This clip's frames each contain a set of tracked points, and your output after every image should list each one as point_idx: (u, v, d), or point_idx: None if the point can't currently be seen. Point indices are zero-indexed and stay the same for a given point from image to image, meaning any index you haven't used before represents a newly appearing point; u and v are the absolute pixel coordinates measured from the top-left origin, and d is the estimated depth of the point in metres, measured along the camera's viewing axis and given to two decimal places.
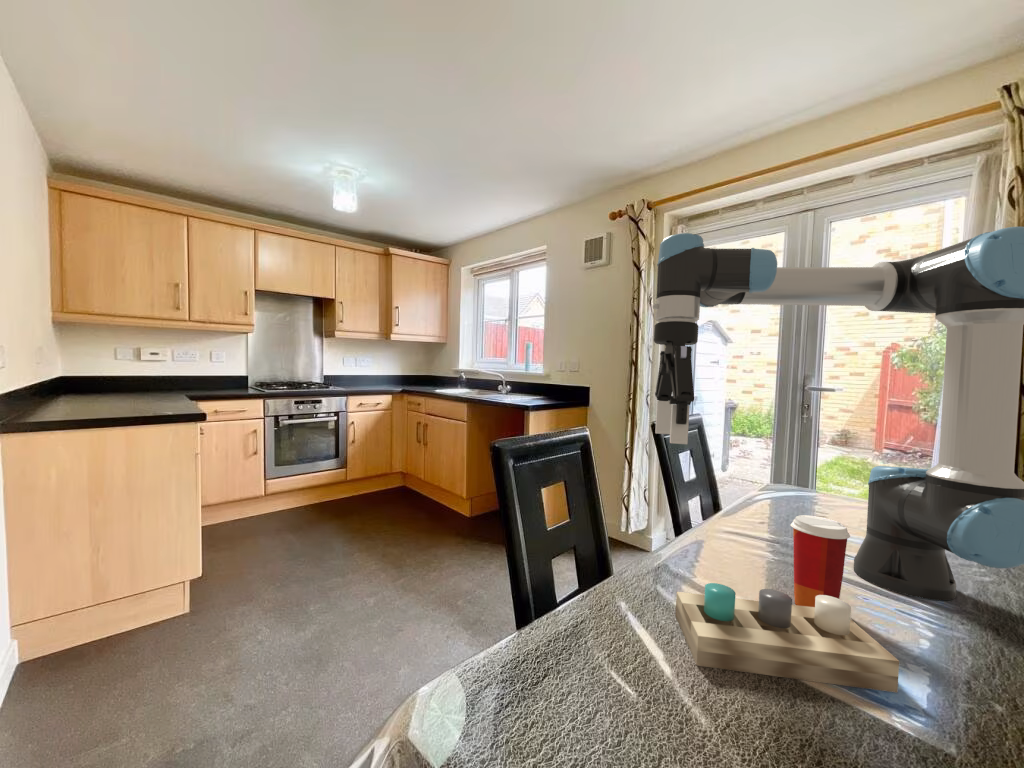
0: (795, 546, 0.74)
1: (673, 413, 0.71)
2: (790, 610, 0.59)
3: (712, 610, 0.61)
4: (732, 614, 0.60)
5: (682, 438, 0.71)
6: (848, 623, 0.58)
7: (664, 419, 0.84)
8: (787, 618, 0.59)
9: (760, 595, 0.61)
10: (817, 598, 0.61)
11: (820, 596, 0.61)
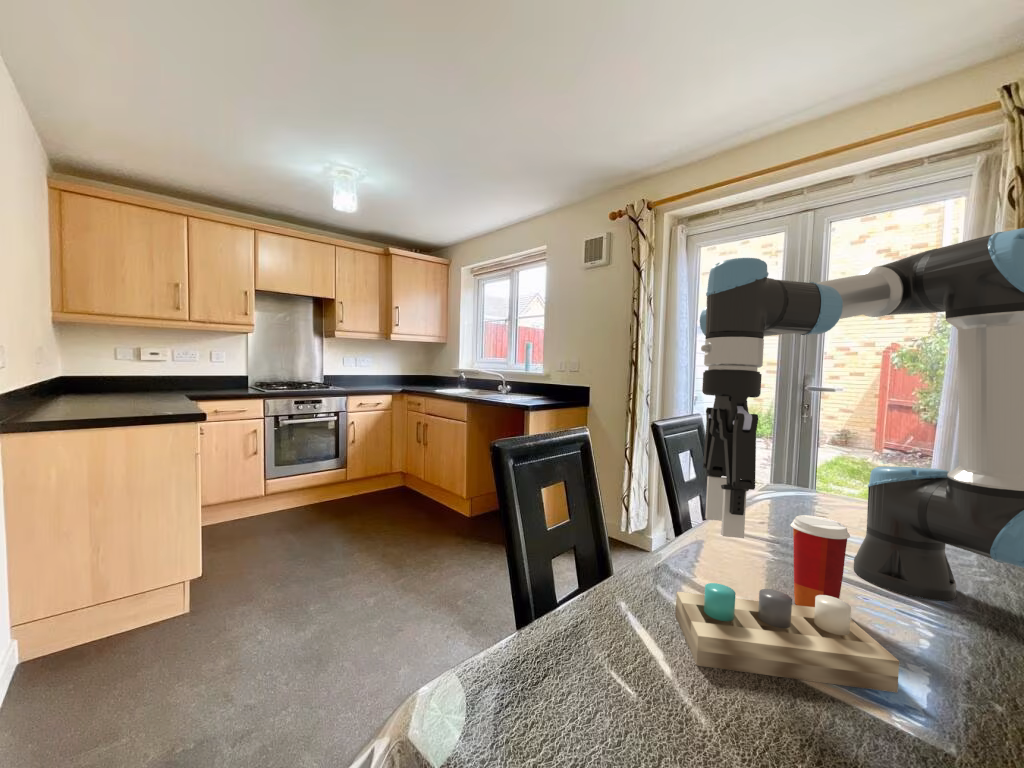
0: (795, 546, 0.74)
1: (726, 500, 0.58)
2: (790, 610, 0.59)
3: (712, 610, 0.61)
4: (732, 614, 0.60)
5: (737, 530, 0.58)
6: (848, 623, 0.58)
7: (718, 501, 0.65)
8: (787, 618, 0.59)
9: (760, 595, 0.61)
10: (817, 598, 0.61)
11: (820, 596, 0.61)
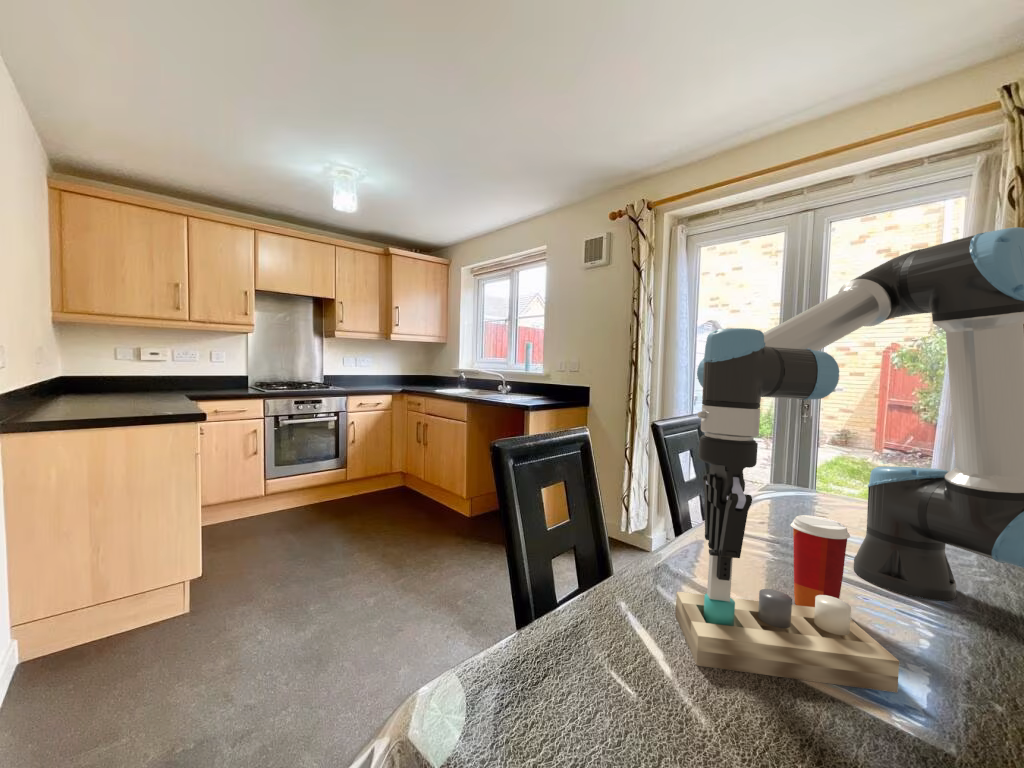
0: (795, 546, 0.74)
1: (713, 564, 0.61)
2: (790, 610, 0.59)
3: (712, 619, 0.61)
4: (731, 624, 0.60)
5: (724, 594, 0.61)
6: (848, 623, 0.58)
7: None
8: (787, 618, 0.59)
9: (760, 595, 0.61)
10: (817, 598, 0.61)
11: (820, 596, 0.61)
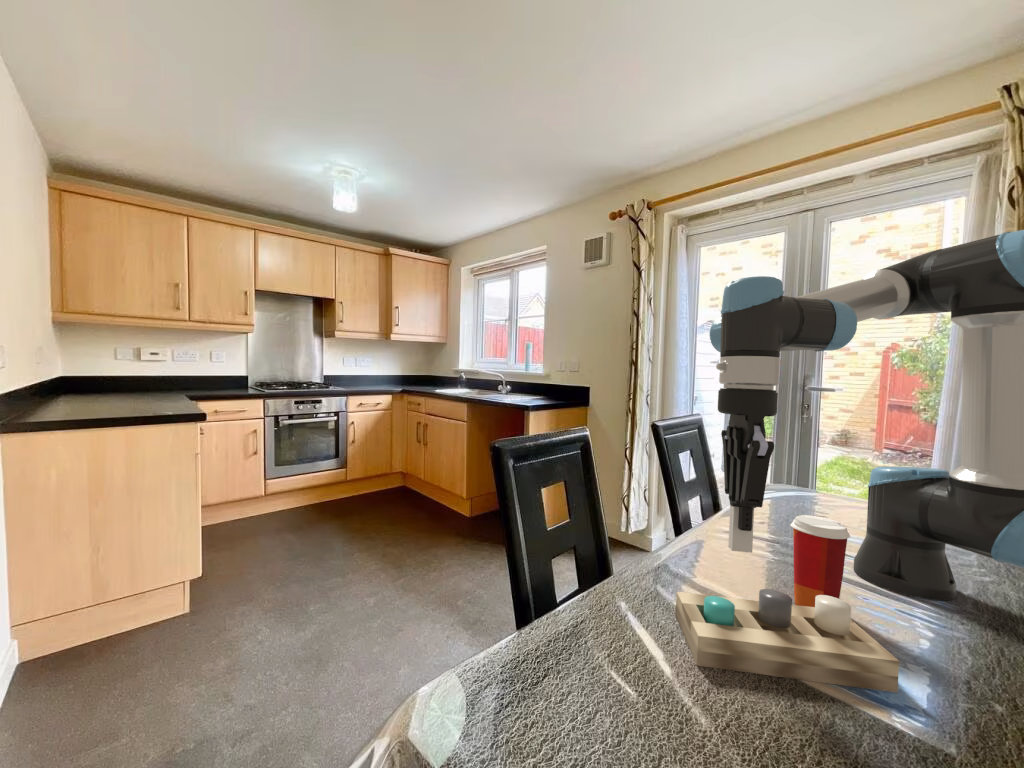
0: (795, 546, 0.74)
1: (735, 516, 0.61)
2: (790, 610, 0.59)
3: (712, 623, 0.61)
4: None
5: (746, 545, 0.61)
6: (848, 623, 0.58)
7: None
8: (787, 618, 0.59)
9: (760, 595, 0.61)
10: (817, 598, 0.61)
11: (820, 596, 0.61)
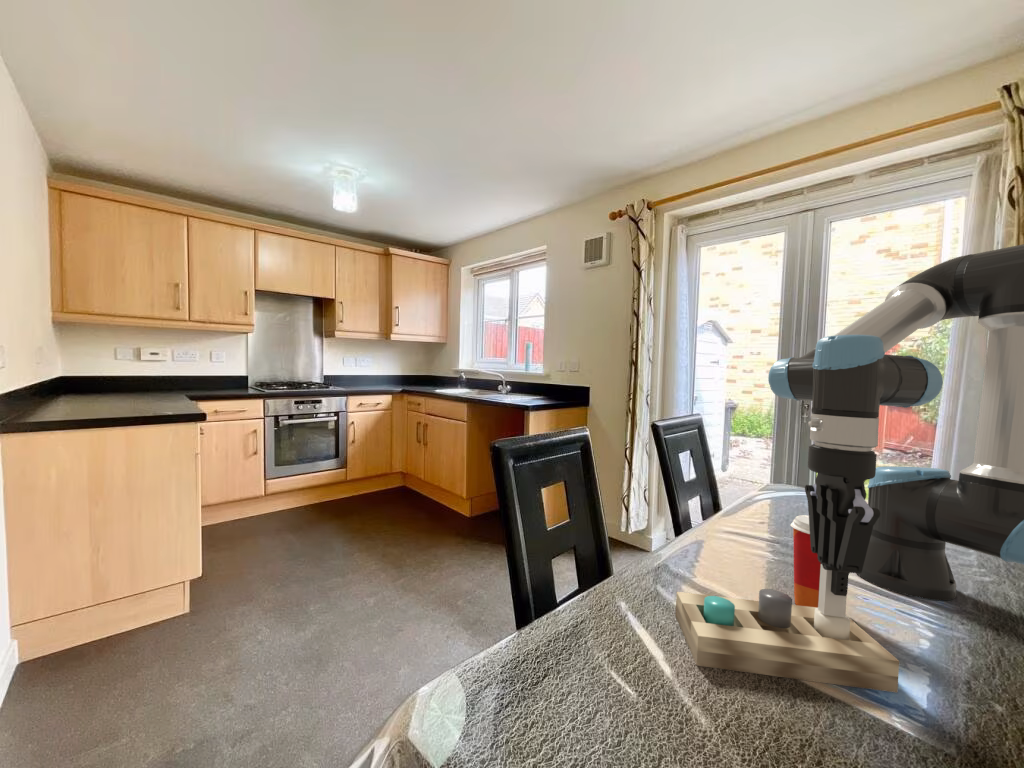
0: (795, 546, 0.74)
1: (827, 579, 0.59)
2: (790, 610, 0.59)
3: (712, 623, 0.61)
4: None
5: (839, 610, 0.59)
6: (847, 636, 0.58)
7: None
8: (787, 618, 0.59)
9: (760, 595, 0.61)
10: (816, 611, 0.61)
11: None
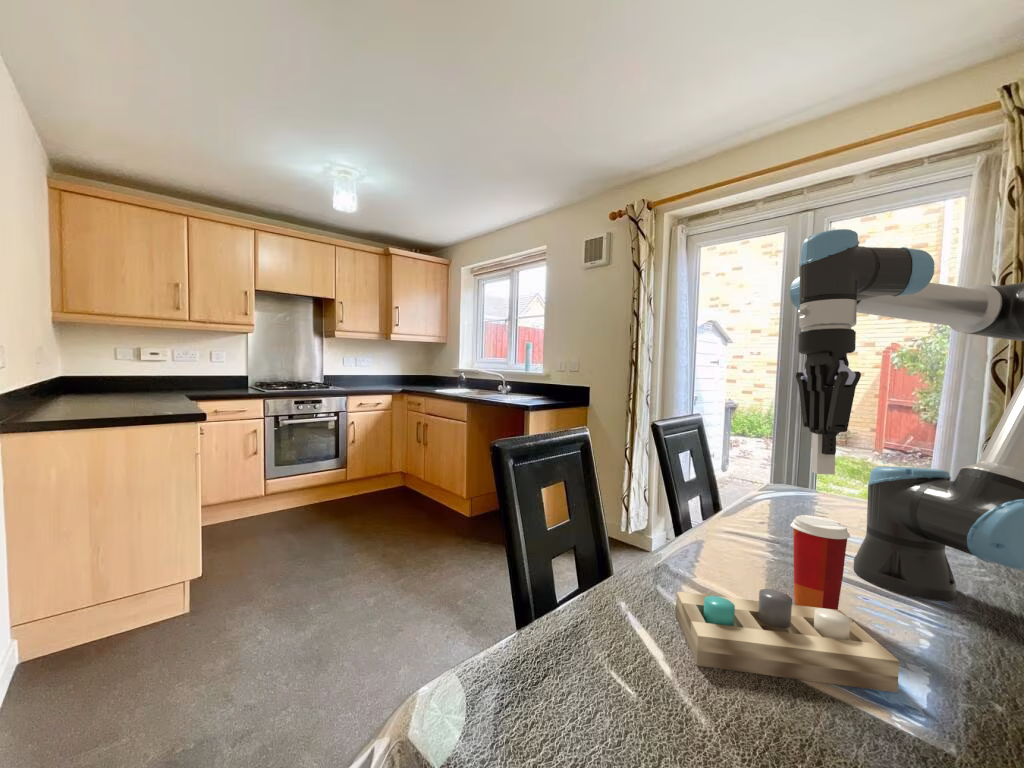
0: (795, 546, 0.74)
1: (819, 443, 0.69)
2: (790, 610, 0.59)
3: (712, 623, 0.61)
4: None
5: (829, 468, 0.69)
6: (847, 637, 0.58)
7: None
8: (787, 618, 0.59)
9: (760, 595, 0.61)
10: (816, 612, 0.61)
11: (819, 609, 0.61)
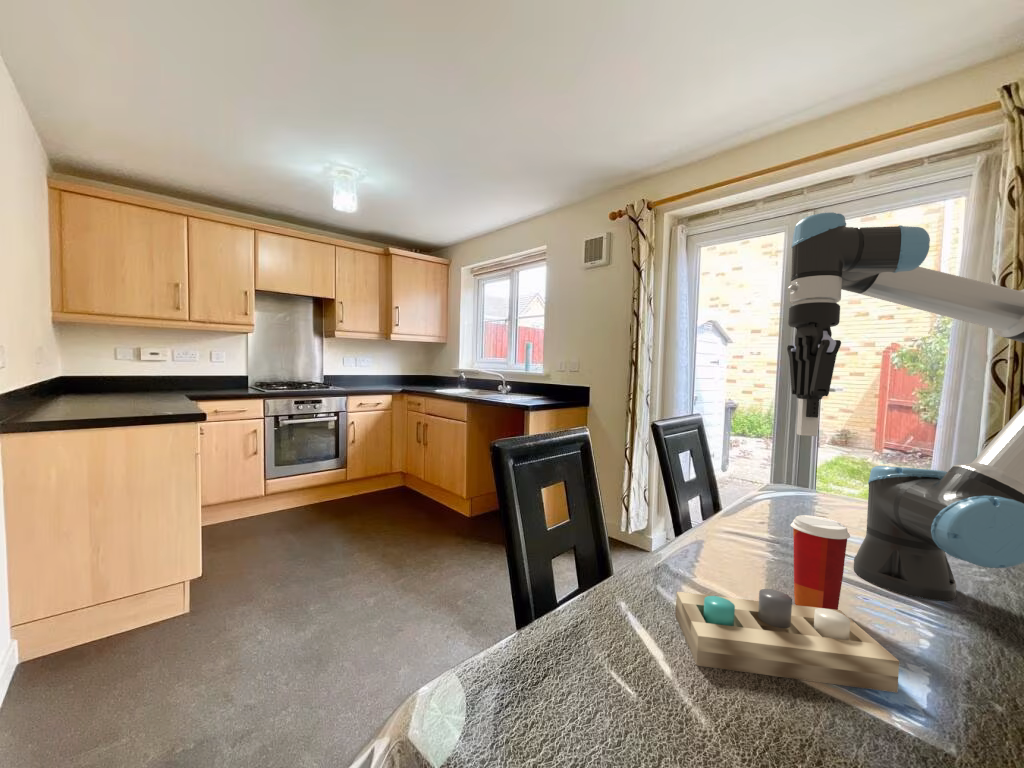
0: (795, 546, 0.74)
1: (803, 407, 0.76)
2: (790, 610, 0.59)
3: (712, 623, 0.61)
4: None
5: (812, 430, 0.76)
6: (847, 637, 0.58)
7: None
8: (787, 618, 0.59)
9: (760, 595, 0.61)
10: (816, 612, 0.61)
11: (819, 609, 0.61)
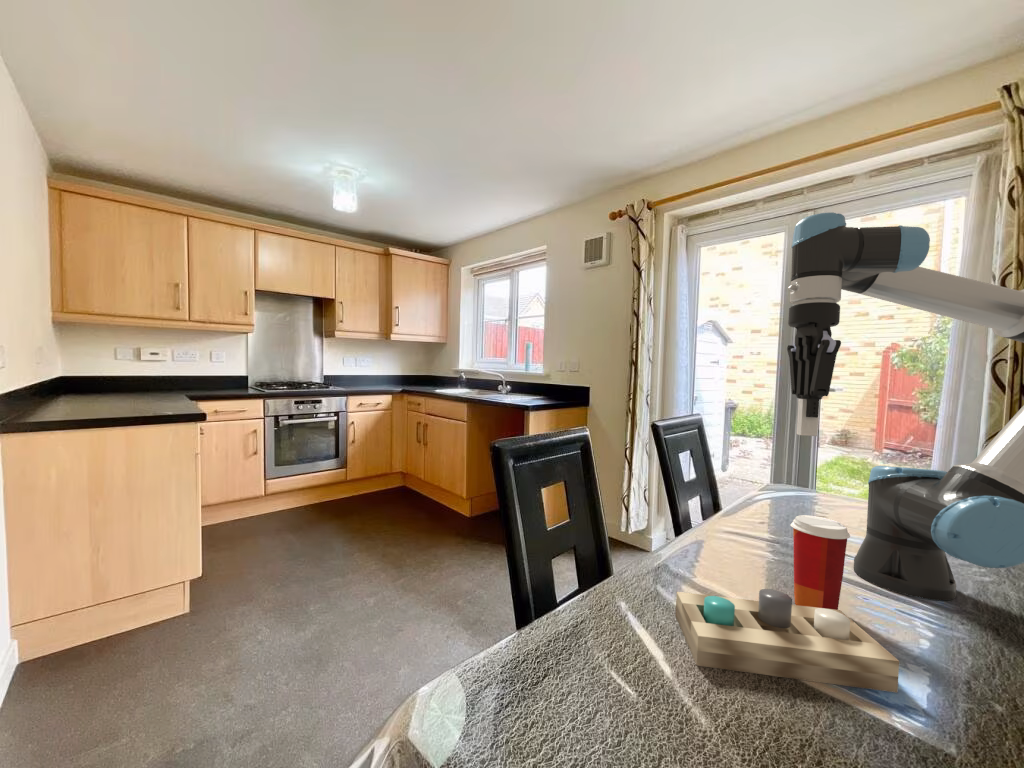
0: (795, 546, 0.74)
1: (803, 407, 0.76)
2: (790, 610, 0.59)
3: (712, 623, 0.61)
4: None
5: (812, 430, 0.76)
6: (847, 637, 0.58)
7: None
8: (787, 618, 0.59)
9: (760, 595, 0.61)
10: (816, 612, 0.61)
11: (819, 609, 0.61)
